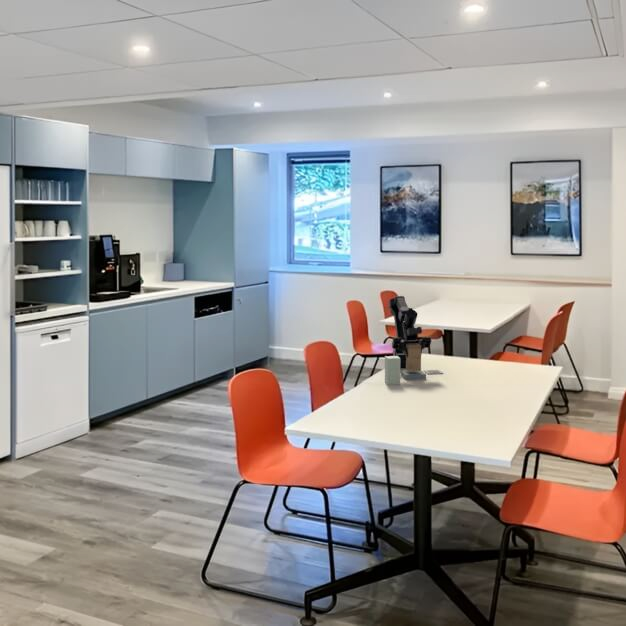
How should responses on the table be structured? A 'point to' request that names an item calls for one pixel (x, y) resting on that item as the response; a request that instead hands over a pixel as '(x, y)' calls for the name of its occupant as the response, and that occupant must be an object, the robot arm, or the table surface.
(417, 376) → the slate block
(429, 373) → the tile
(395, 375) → the sage pillar
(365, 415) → the table surface
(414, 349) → the walnut pillar
